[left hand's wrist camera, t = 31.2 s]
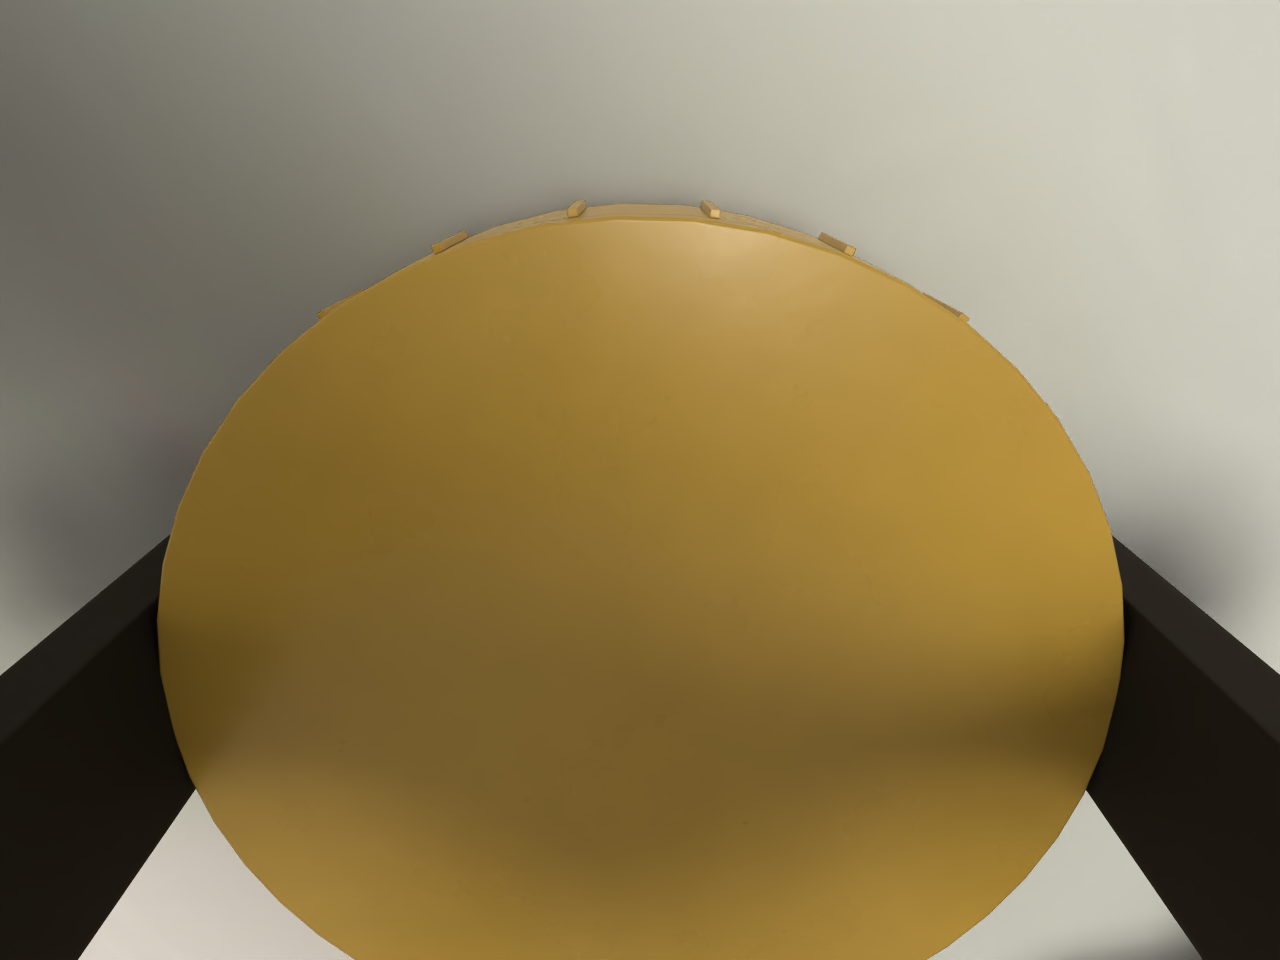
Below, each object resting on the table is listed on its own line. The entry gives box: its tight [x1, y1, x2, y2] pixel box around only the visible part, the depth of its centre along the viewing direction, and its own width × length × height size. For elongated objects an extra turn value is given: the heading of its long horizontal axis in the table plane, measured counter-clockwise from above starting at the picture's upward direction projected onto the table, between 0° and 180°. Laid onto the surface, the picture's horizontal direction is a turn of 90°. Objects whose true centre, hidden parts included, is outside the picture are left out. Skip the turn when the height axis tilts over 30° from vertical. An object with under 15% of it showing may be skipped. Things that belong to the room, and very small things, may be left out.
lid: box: [157, 200, 1124, 960], centre depth 11 cm, size 12×12×2 cm
